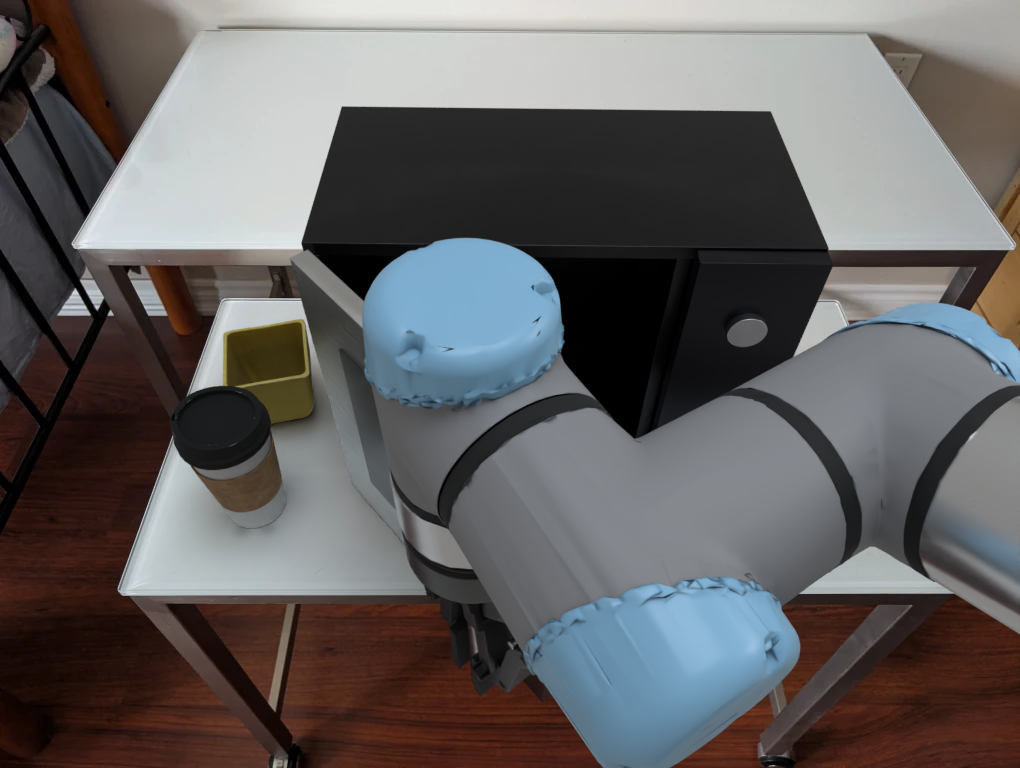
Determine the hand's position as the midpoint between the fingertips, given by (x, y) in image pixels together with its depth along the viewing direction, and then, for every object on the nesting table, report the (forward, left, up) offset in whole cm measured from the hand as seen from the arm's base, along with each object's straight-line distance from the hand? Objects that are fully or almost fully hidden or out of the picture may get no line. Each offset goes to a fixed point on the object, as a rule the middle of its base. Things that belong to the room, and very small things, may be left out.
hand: (480, 666), depth 57 cm
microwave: (+29, -16, -10) cm, 35 cm away
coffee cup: (+27, +16, -10) cm, 33 cm away
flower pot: (+39, +12, -10) cm, 42 cm away
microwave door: (+12, +2, -10) cm, 16 cm away
